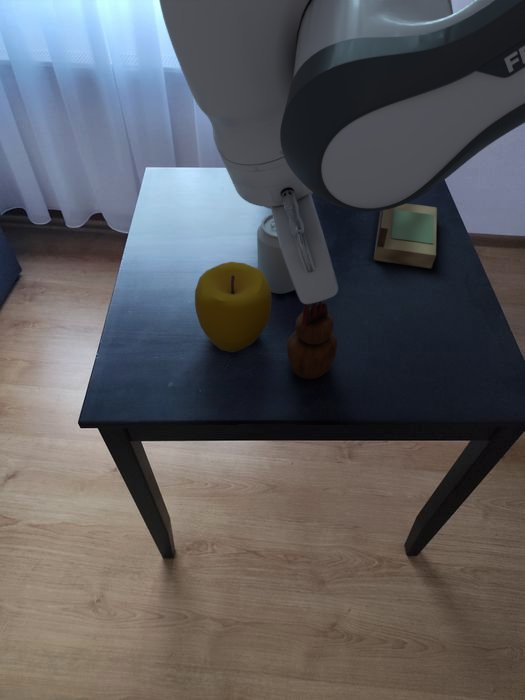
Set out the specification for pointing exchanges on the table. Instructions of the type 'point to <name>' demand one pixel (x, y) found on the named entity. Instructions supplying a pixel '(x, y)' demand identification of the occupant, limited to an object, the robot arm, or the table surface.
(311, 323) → the wooden figurine
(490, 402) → the table surface
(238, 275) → the apple
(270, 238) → the can
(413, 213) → the l-shaped display stand
